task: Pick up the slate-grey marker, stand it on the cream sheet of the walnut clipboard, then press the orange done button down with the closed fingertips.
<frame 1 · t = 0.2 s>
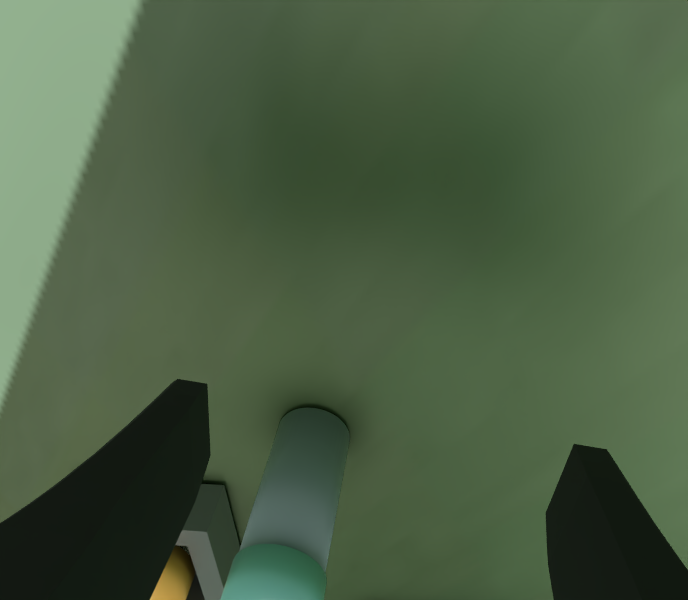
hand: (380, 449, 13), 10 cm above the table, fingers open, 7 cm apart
done button: (145, 582, 29), point 3 cm above the table, slide at 0.0 cm
marker: (313, 434, 27), on the table
button base: (168, 528, 32), on the table
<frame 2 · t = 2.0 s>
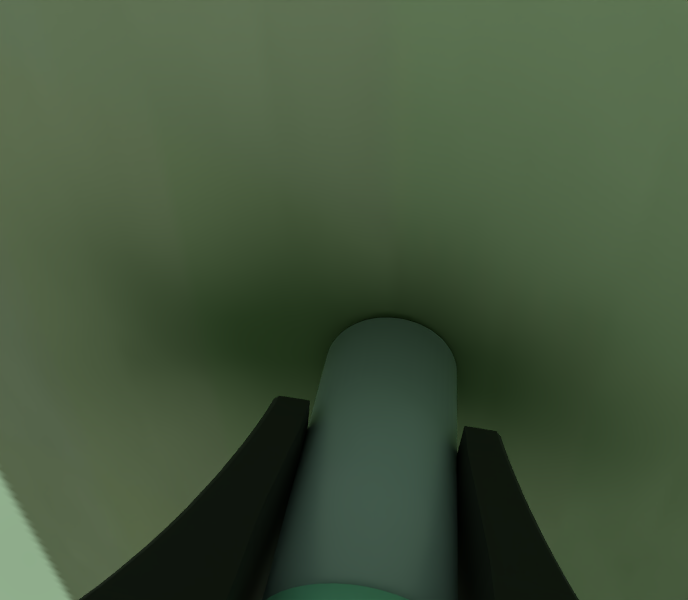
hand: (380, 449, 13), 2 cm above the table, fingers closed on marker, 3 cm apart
marker: (390, 371, 15), on the table, touching gripper
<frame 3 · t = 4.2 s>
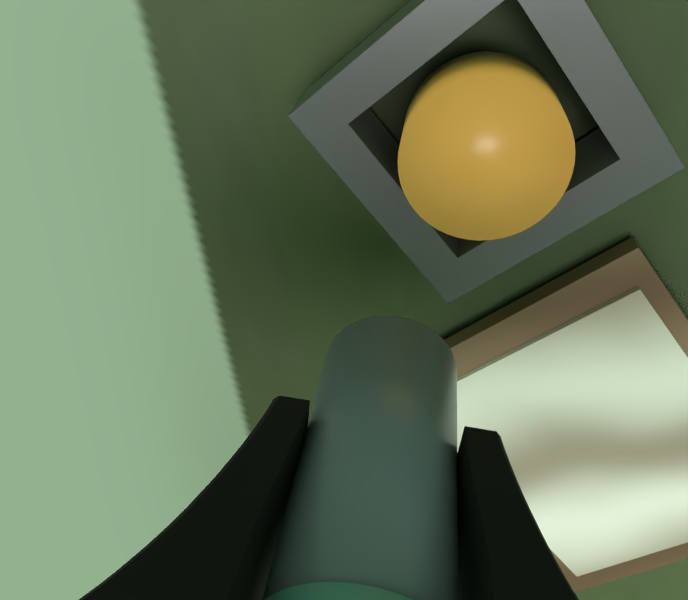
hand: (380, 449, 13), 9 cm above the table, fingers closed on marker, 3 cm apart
done button: (482, 146, 16), point 3 cm above the table, slide at 0.0 cm
marker: (390, 369, 15), point 7 cm above the table, touching gripper
clipboard: (583, 445, 24), on the table
button base: (479, 110, 18), on the table
when the fingers open (4 cm above the table, at t = 6.5 s): marker stays where it is, resting on clipboard.
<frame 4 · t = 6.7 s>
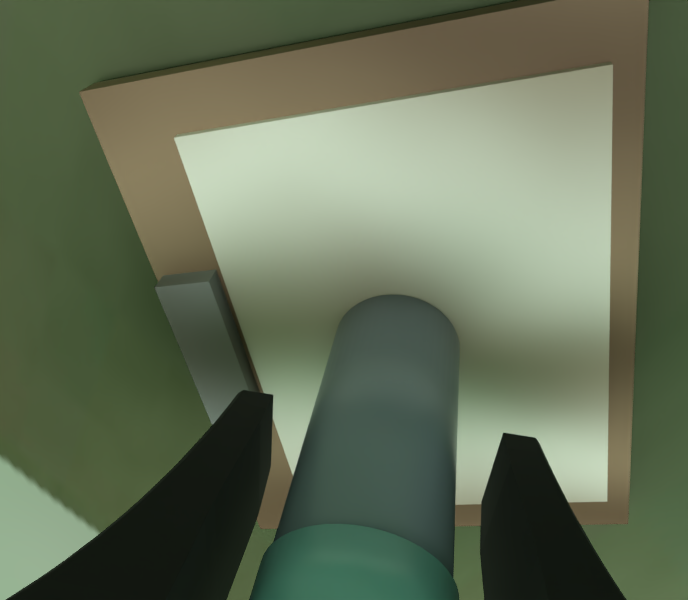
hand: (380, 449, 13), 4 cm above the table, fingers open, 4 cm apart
marker: (396, 346, 16), point 1 cm above the table, touching clipboard
clipboard: (396, 323, 16), on the table
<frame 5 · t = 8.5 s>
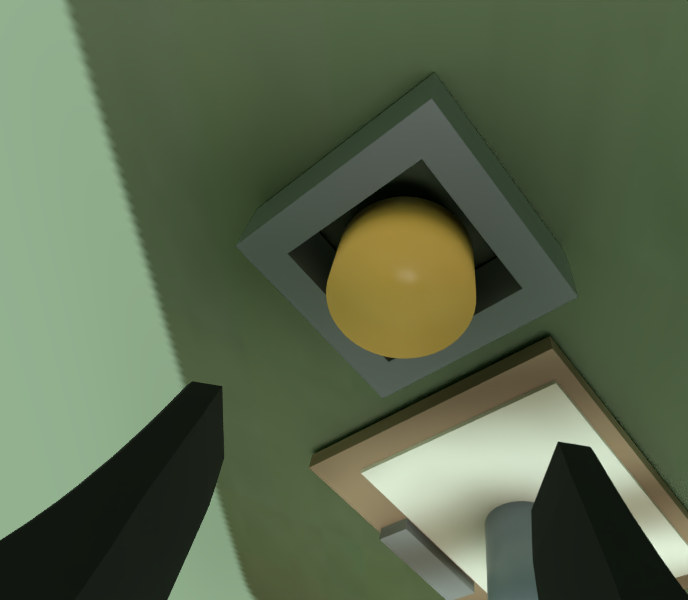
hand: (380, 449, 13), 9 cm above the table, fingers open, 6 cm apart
done button: (402, 278, 18), point 3 cm above the table, slide at 0.0 cm
marker: (522, 526, 26), point 1 cm above the table, touching clipboard
clipboard: (519, 508, 27), on the table
button base: (408, 231, 20), on the table
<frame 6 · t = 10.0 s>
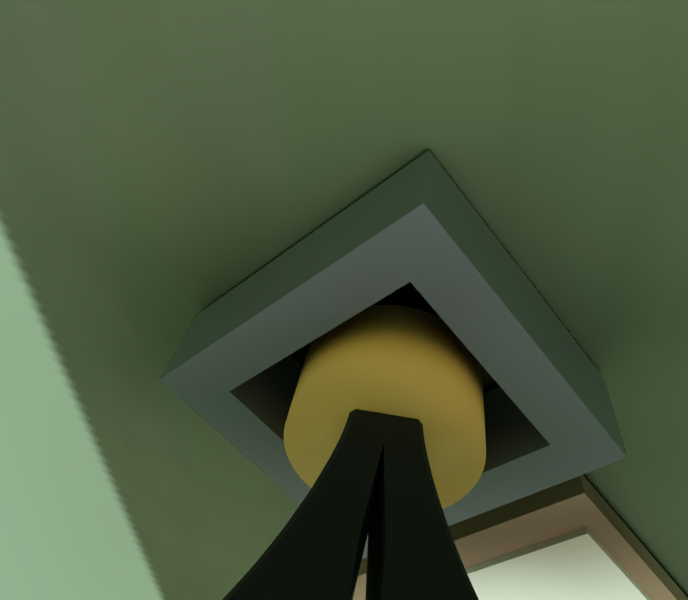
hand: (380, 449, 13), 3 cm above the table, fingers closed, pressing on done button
done button: (387, 412, 14), point 2 cm above the table, slide at 0.6 cm, touching gripper
button base: (396, 345, 16), on the table
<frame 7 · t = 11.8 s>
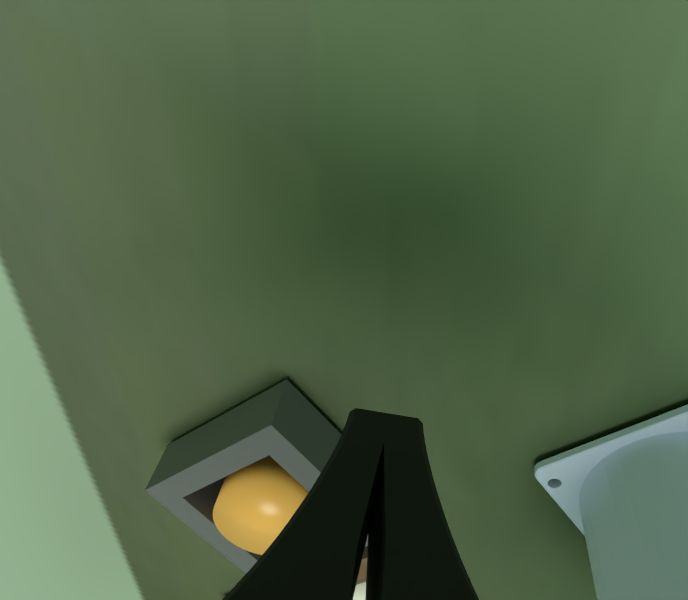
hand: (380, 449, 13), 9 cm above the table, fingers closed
done button: (269, 501, 26), point 2 cm above the table, slide at 1.0 cm
button base: (279, 466, 28), on the table
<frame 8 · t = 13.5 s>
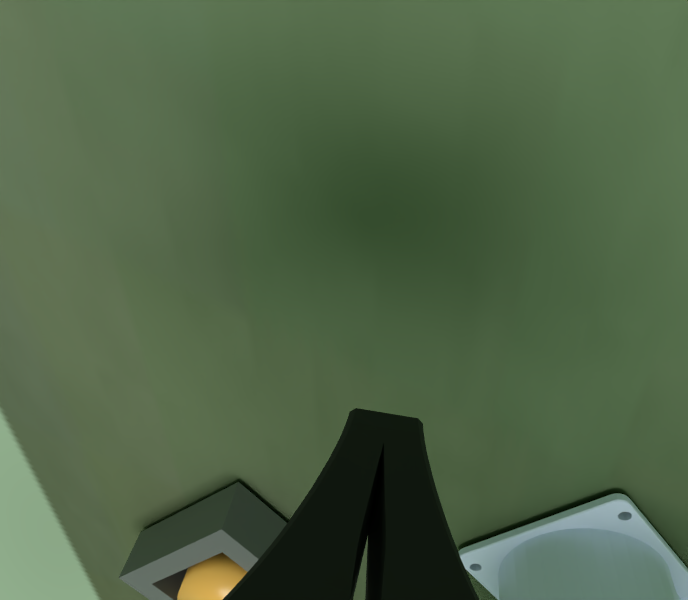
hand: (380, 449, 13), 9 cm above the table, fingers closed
done button: (227, 585, 30), point 2 cm above the table, slide at 1.0 cm
button base: (239, 549, 31), on the table
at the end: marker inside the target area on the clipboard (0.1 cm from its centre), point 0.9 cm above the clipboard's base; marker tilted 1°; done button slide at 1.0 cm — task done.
